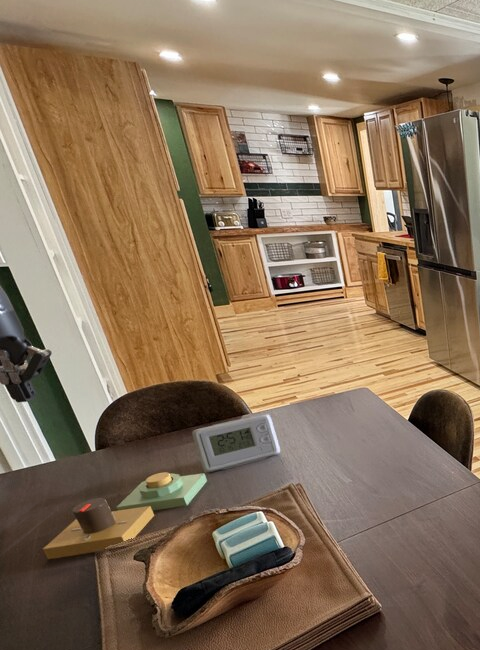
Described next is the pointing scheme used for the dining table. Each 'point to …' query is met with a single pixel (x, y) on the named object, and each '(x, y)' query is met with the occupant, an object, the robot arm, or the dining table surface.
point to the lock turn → (94, 515)
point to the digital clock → (236, 442)
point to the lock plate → (99, 534)
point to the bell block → (165, 493)
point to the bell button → (158, 480)
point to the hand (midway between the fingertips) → (26, 400)
